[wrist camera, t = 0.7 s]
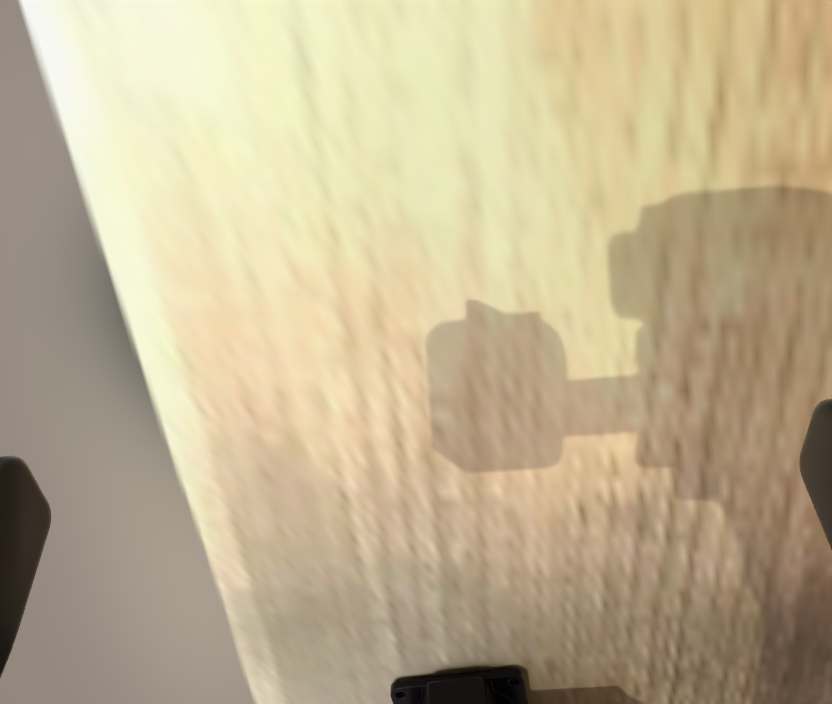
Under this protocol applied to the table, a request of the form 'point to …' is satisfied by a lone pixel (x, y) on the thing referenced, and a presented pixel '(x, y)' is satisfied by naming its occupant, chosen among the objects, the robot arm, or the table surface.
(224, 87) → the table surface
